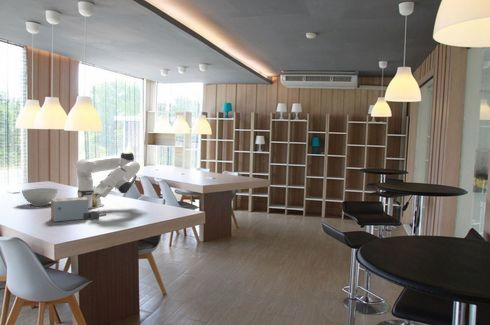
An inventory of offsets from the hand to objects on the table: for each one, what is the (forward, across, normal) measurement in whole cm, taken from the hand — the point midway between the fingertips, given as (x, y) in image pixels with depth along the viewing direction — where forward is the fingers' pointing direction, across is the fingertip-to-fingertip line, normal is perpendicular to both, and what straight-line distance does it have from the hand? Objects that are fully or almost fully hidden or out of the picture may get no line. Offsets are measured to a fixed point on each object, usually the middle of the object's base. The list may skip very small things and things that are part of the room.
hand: (93, 199), depth 273 cm
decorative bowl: (+25, +78, +6) cm, 82 cm away
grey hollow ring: (+11, 0, -8) cm, 14 cm away
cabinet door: (+20, 0, +1) cm, 20 cm away
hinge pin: (+4, 0, -4) cm, 6 cm away
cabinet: (+20, +7, +1) cm, 21 cm away
